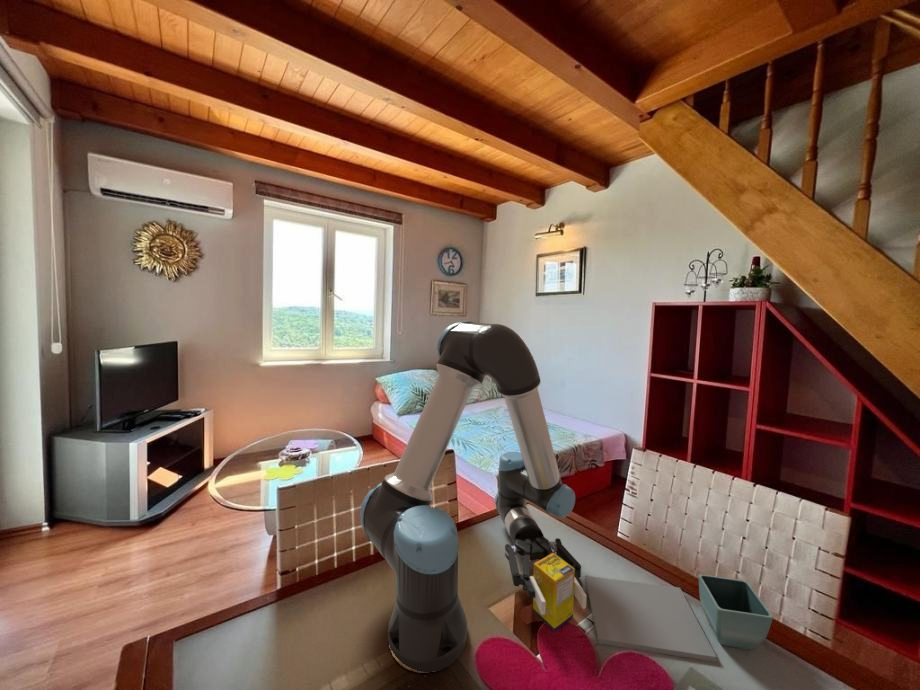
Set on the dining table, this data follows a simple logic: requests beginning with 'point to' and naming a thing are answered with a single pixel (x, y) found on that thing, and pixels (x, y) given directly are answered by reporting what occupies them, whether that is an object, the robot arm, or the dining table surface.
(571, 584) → the supplement box
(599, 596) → the board
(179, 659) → the dining table surface
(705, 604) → the flower pot
